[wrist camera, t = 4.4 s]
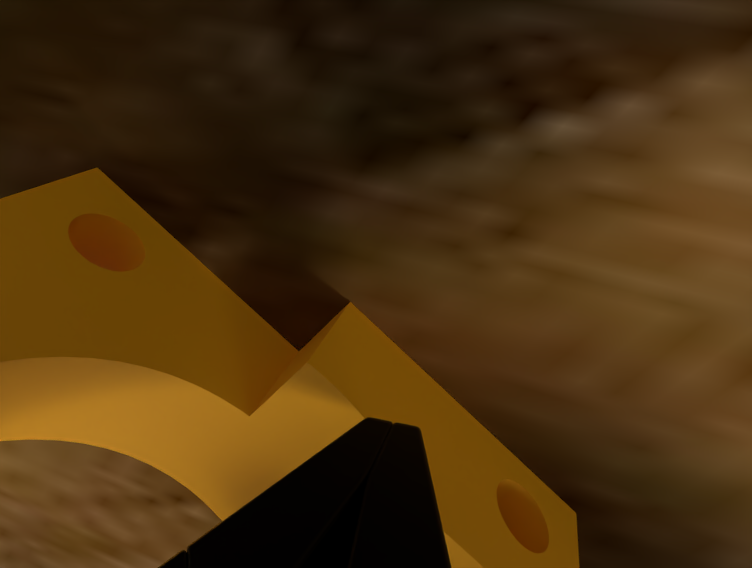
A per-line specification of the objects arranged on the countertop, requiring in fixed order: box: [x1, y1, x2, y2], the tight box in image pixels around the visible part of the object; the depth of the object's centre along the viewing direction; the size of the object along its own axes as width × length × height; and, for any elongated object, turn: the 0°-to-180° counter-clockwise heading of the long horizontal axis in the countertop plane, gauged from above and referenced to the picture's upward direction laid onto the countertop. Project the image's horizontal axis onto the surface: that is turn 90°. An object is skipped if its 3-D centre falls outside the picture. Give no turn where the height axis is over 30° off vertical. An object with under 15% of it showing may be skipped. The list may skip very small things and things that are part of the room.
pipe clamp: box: [0, 168, 579, 568], centre depth 10 cm, size 12×4×6 cm, turn 48°
